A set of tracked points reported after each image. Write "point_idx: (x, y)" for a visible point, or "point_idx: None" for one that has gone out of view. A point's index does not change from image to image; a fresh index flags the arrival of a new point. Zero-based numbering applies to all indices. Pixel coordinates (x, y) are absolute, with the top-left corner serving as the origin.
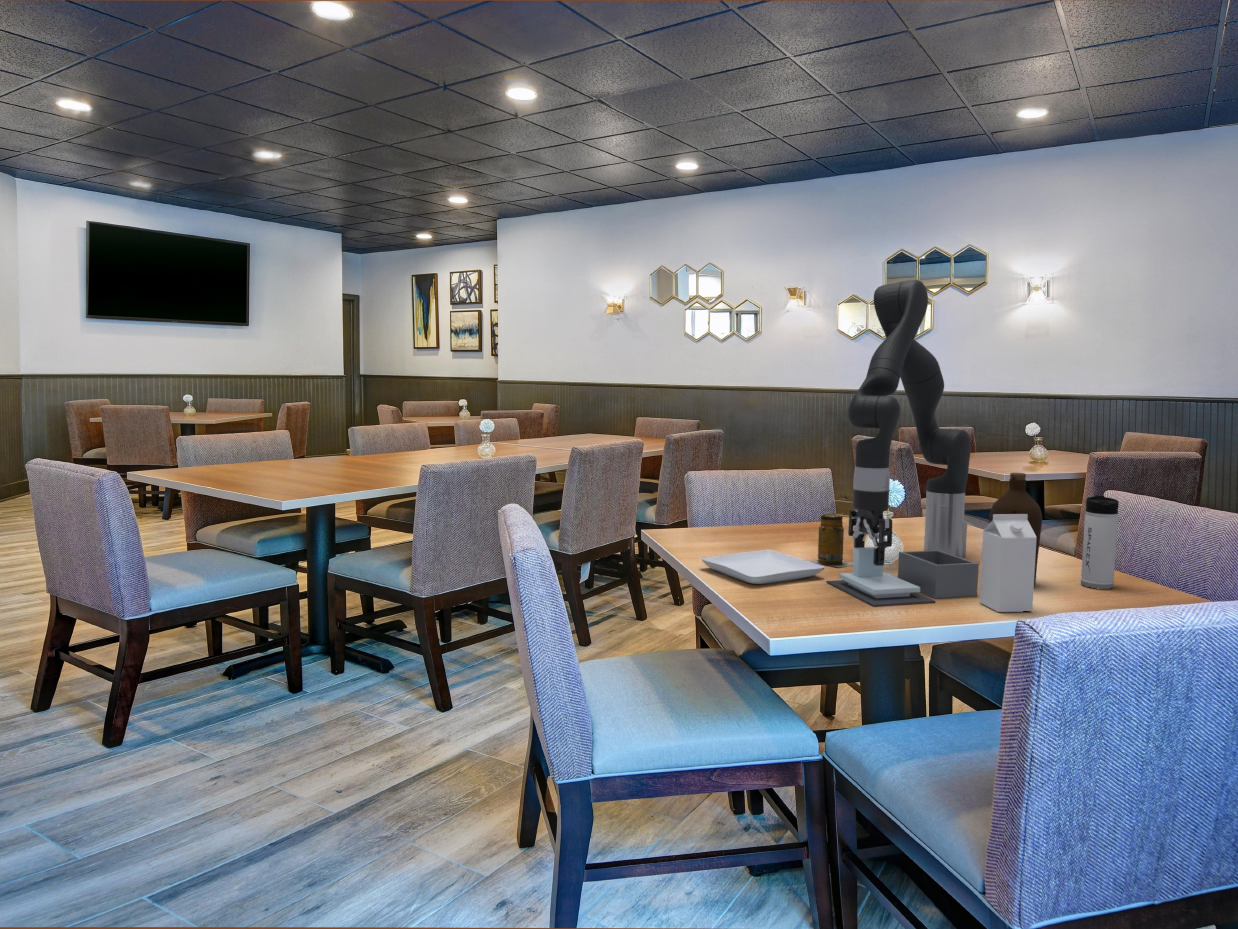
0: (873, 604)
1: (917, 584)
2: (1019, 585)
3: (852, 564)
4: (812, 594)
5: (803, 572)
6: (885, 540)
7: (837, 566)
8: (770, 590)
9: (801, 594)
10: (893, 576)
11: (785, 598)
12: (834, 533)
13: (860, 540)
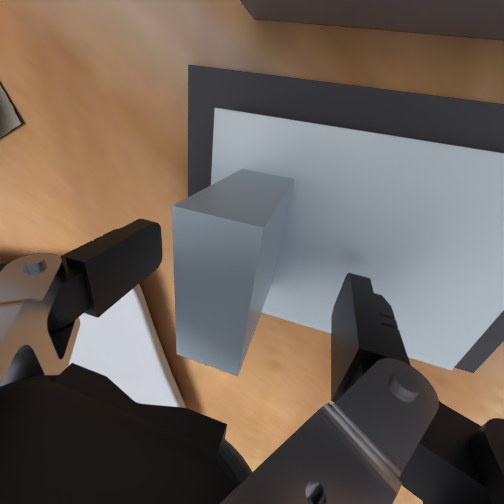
0: (469, 370)
1: (452, 22)
2: None
3: None
4: (277, 378)
5: (153, 334)
6: (415, 441)
7: (6, 113)
8: (220, 404)
9: (268, 391)
10: (326, 132)
11: (282, 426)
12: None
13: (80, 287)
